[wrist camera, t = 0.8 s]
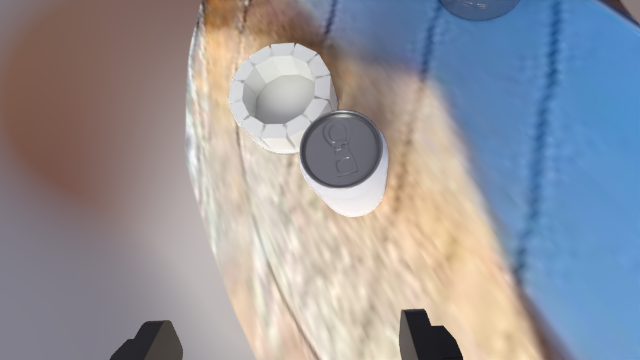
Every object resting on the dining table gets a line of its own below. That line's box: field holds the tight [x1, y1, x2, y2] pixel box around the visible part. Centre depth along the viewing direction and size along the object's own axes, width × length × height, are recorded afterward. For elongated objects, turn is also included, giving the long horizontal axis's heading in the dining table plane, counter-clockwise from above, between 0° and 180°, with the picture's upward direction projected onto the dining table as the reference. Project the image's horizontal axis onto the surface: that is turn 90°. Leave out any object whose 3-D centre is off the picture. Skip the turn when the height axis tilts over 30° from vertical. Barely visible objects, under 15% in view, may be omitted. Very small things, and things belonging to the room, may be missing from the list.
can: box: [299, 110, 388, 217], centre depth 26 cm, size 6×6×12 cm
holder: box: [228, 43, 338, 155], centre depth 33 cm, size 11×11×4 cm
